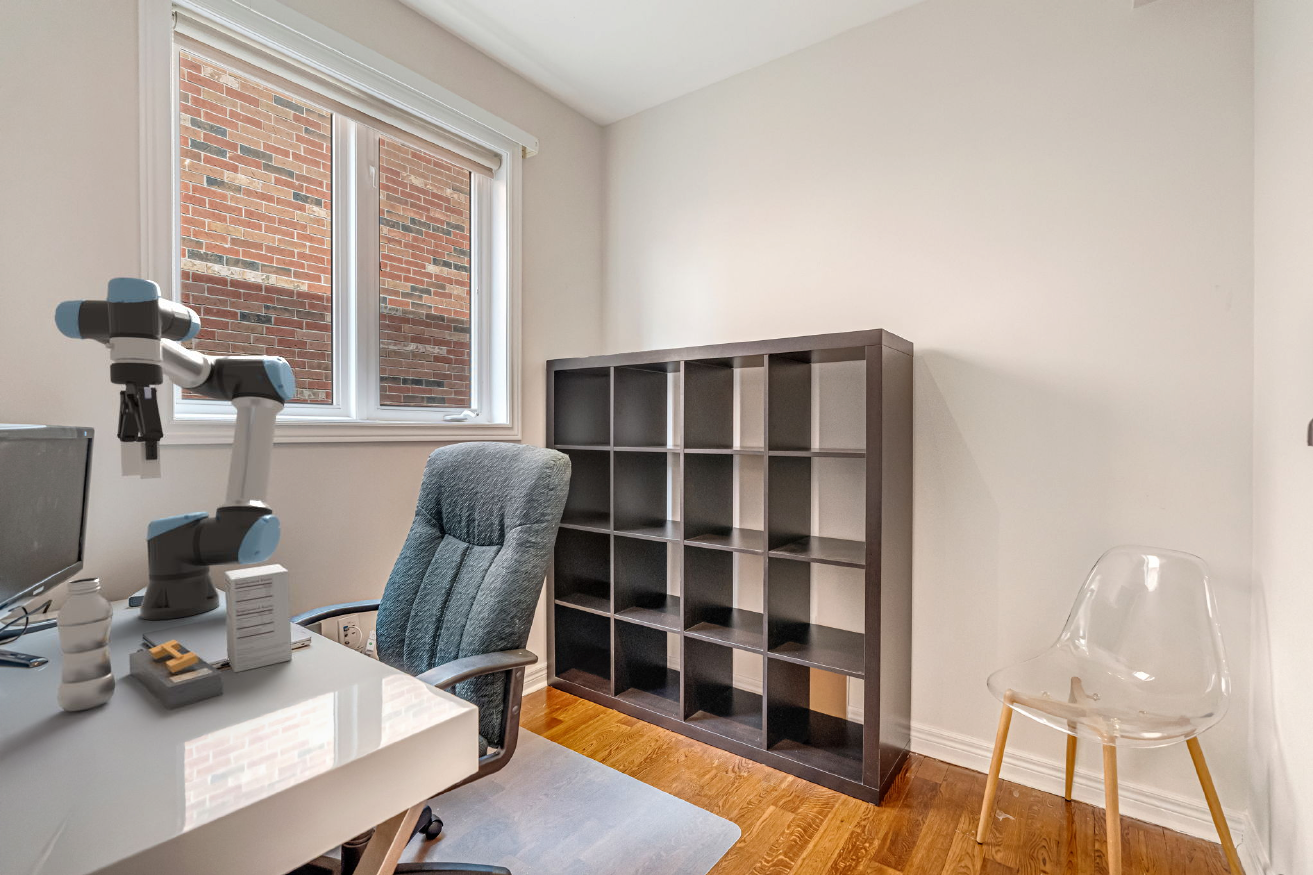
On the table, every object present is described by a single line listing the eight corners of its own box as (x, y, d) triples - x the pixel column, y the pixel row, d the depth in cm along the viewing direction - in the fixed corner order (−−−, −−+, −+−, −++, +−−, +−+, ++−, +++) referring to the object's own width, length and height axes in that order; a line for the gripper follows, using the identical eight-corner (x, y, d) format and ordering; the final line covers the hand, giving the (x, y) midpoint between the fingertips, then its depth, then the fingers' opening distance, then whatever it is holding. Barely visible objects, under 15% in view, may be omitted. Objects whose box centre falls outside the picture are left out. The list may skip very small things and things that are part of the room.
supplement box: (293, 660, 115) (290, 570, 115) (233, 674, 109) (230, 579, 109) (282, 647, 123) (280, 562, 122) (226, 659, 116) (223, 570, 116)
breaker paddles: (151, 655, 108) (148, 647, 108) (175, 645, 111) (173, 637, 111) (172, 672, 100) (169, 663, 100) (198, 661, 103) (196, 652, 103)
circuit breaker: (116, 660, 117) (115, 641, 116) (162, 649, 122) (162, 631, 122) (169, 709, 95) (168, 686, 95) (222, 693, 101) (221, 671, 101)
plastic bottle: (50, 711, 96) (45, 583, 95) (105, 694, 102) (100, 573, 101) (68, 720, 93) (63, 587, 92) (124, 702, 99) (119, 577, 98)
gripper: (95, 366, 120) (99, 475, 120) (127, 356, 104) (132, 481, 105) (144, 369, 126) (147, 473, 126) (181, 359, 110) (185, 477, 111)
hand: (140, 477), depth 115 cm, fingers open, 13 cm apart
